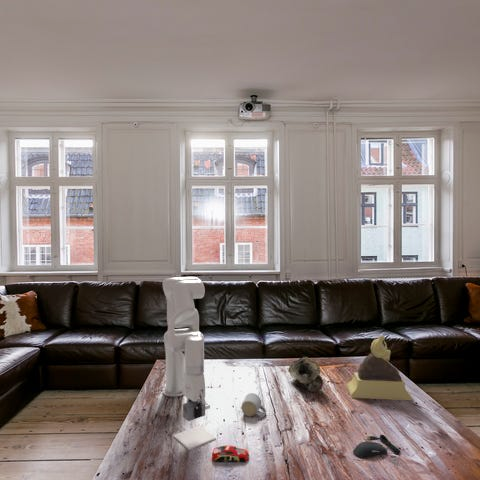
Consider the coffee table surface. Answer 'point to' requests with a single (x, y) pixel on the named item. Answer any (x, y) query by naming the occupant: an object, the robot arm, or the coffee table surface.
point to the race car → (229, 454)
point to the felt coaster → (194, 437)
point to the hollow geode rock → (307, 374)
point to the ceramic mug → (252, 405)
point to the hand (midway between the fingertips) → (194, 414)
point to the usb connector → (189, 410)
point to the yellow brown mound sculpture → (378, 376)
